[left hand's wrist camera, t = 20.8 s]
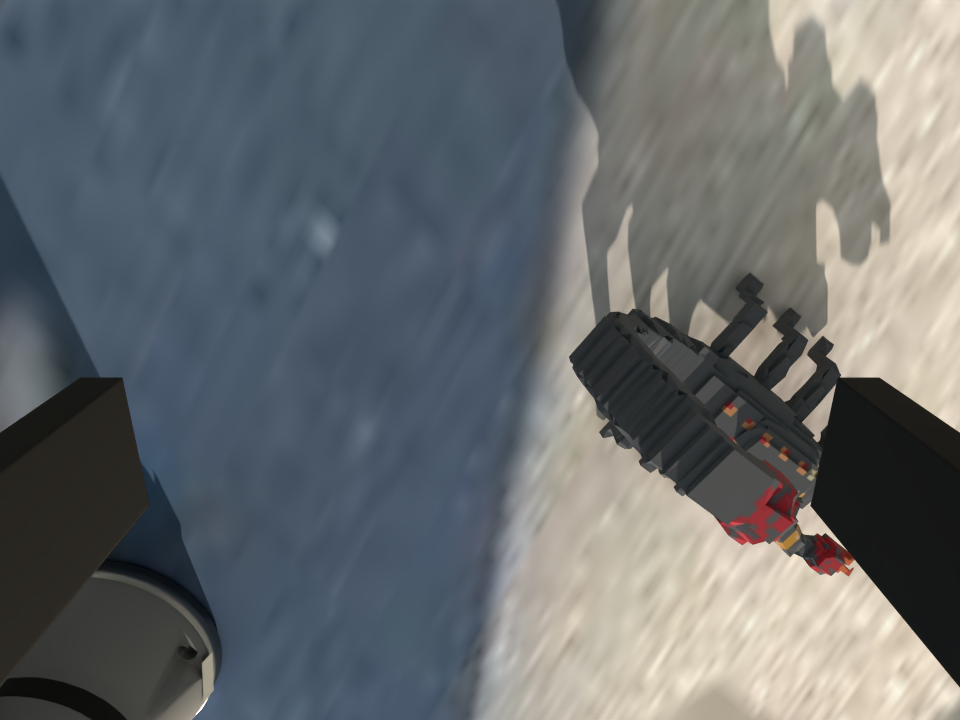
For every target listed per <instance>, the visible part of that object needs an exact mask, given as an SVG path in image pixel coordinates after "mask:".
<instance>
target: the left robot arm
mask: <svg viewBox="0 0 960 720" xmlns="http://www.w3.org/2000/svg"><path fill="white" fill-rule="evenodd" d="M148 507H149V501H148V497H147V492H146V487H145V482H144V478H143V473H142V468H141V464H140V459H139V454H138V449H137V445H136V440H135V435H134V430H133V426H132V421H131V416H130V411H129V407H128V402H127V397H126V393H125V388H124V383H123V378H79V379H78V380H76V381H75V382H74V383H72V384H71V385H69V386H68V387H66V388H65V389H63V390H62V391H60V392H59V393H57V394H56V395H55V396H53V397H52V398H50V399H49V400H47V401H46V402H44V403H43V404H41V405H40V406H39V407H37V408H36V409H34V410H33V411H31V412H30V413H28V414H27V415H25V416H24V417H22V418H21V419H20V420H18V421H17V422H15V423H14V424H12V425H11V426H9V427H8V428H6V429H5V430H4V431H2V432H1V433H0V720H192V719H193V718H194V717H195V715H196V714H197V713H198V712H199V711H200V710H201V709H202V707H203V706H204V704H205V703H206V701H207V699H208V697H209V695H210V694H211V693H212V692H213V691H214V684H215V682H216V680H217V677H218V675H219V672H220V668H221V663H222V649H221V643H220V638H219V635H218V632H217V630H216V628H215V626H214V623H213V622H212V620H211V618H210V617H209V615H208V614H207V612H206V611H205V610H204V608H203V607H202V606H201V605H200V604H199V603H198V602H197V601H196V600H195V599H194V598H193V597H192V596H191V595H190V594H189V593H188V592H186V591H185V590H184V589H183V588H181V587H180V586H178V585H177V584H175V583H174V582H172V581H170V580H169V579H167V578H165V577H163V576H161V575H159V574H157V573H155V572H152V571H150V570H147V569H145V568H142V567H138V566H135V565H131V564H127V563H122V562H115V561H105V559H106V558H107V557H108V556H109V554H110V553H111V552H112V551H113V550H114V548H115V547H116V546H117V545H118V543H119V542H120V541H121V540H122V539H123V537H124V536H125V535H126V534H127V532H128V531H129V530H130V529H131V528H132V526H133V525H134V524H135V523H136V522H137V520H138V519H139V518H140V517H141V515H142V514H143V513H144V512H145V511H146V509H147V508H148ZM811 507H812V508H813V509H814V511H815V512H816V513H817V514H818V515H819V517H820V518H821V519H822V520H823V522H824V523H825V524H826V525H827V526H828V528H829V529H830V530H831V531H832V532H833V534H834V535H835V536H836V537H837V539H838V540H839V541H840V542H841V543H842V545H843V546H844V547H845V548H846V550H847V551H848V552H849V553H850V554H851V556H852V557H853V558H854V559H855V560H856V562H857V563H858V564H859V565H860V567H861V568H862V569H863V570H864V571H865V573H866V574H867V575H868V576H869V577H870V579H871V580H872V581H873V582H874V584H875V585H876V586H877V587H878V588H879V590H880V591H881V592H882V593H883V595H884V596H885V597H886V598H887V599H888V601H889V602H890V603H891V604H892V605H893V607H894V608H895V609H896V610H897V612H898V613H899V614H900V615H901V616H902V618H903V619H904V620H905V621H906V622H907V624H908V625H909V626H910V627H911V629H912V630H913V631H914V632H915V633H916V635H917V636H918V637H919V638H920V640H921V641H922V642H923V643H924V644H925V646H926V647H927V648H928V649H929V650H930V652H931V653H932V654H933V655H934V657H935V658H936V659H937V660H938V661H939V663H940V664H941V665H942V666H943V668H944V669H945V670H946V671H947V672H948V674H949V675H950V676H951V677H952V678H953V680H954V681H955V682H956V683H957V685H958V686H959V687H960V433H959V432H958V431H956V430H955V429H954V428H952V427H951V426H949V425H948V424H946V423H945V422H943V421H942V420H940V419H939V418H938V417H936V416H935V415H933V414H932V413H930V412H929V411H927V410H926V409H924V408H923V407H921V406H920V405H919V404H917V403H916V402H914V401H913V400H911V399H910V398H908V397H907V396H905V395H904V394H903V393H901V392H900V391H898V390H897V389H895V388H894V387H892V386H891V385H889V384H888V383H886V382H885V381H884V380H882V379H881V378H837V383H836V388H835V393H834V397H833V402H832V407H831V411H830V416H829V421H828V426H827V430H826V435H825V440H824V445H823V449H822V454H821V459H820V464H819V468H818V473H817V478H816V482H815V487H814V492H813V497H812V501H811Z"/></svg>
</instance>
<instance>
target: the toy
mask: <svg viewBox="0 0 960 720" xmlns="http://www.w3.org/2000/svg"><path fill="white" fill-rule="evenodd" d="M763 285H764V284H763V283H762V282H760V281H759V280H758V279H757V278H755V277H754V276H753V275H752V274H751V273H749V274H748V275H747V277H746V278H745V279H744V280H743V281H742V282H741V283H740V284H739V285H738V286H737V287H736V289H738V290H739V291H740V292H741V294H740V296H739V298H741V299H742V300H744V301H745V302H746V304H745V305H744V307H743V308H742V309H741V310H740V311H739V313H738V314H737V315H736V316H735V317H734V319H733V321H732V322H731V323H730V324H729V325H728V326H727V327H726V328H725V329H724V330H723V331H722V333H721V334H720V335H719V336H718V337H717V338H716V339H715V340H714V341H713V342H712V344H711V346H710V347H709V346H707V345H706V344H705V343H703V342H701V341H699V340H696V339H694V338H691V337H689V336H687V335H685V334H683V333H682V332H680V331H679V330H678V329H676V328H675V327H674V326H672V325H671V324H669V323H667V322H665V321H663V320H661V319H659V318H657V317H654V318H650V317H649V316H647V315H646V314H645V313H644V312H642V311H641V310H636V309H632V310H631V311H630V313H629V314H628V315H627V314H624V313H621V312H610V313H609V314H608V315H607V316H605V317H604V318H603V319H602V320H601V321H600V322H599V324H598V325H597V326H596V327H595V328H594V329H593V330H592V331H591V333H590V334H589V335H588V336H587V337H586V338H585V339H584V340H583V342H582V343H581V344H580V345H579V346H578V347H577V348H576V349H575V351H574V352H573V353H572V354H571V355H570V356H569V358H570V361H571V362H572V363H573V367H572V368H573V370H574V371H575V373H576V375H577V377H578V378H579V380H580V381H581V382H582V384H583V385H584V386H585V387H586V389H587V390H588V391H589V393H590V394H591V395H592V396H593V398H594V399H595V402H596V404H597V407H598V409H599V411H600V412H601V413H602V414H603V415H604V416H605V417H607V418H608V419H609V420H610V421H609V422H608V423H607V424H606V426H605V427H604V428H603V429H602V430H601V431H600V432H599V433H600V434H601V436H602V437H603V438H606V437H611V436H614V438H615V441H616V443H617V445H619V446H621V447H622V448H624V449H631V448H632V447H634V448H635V449H636V450H637V451H638V452H639V453H640V454H641V456H642V458H641V459H640V460H639V463H640V465H641V466H642V467H643V468H645V469H646V470H647V471H649V472H650V473H651V472H653V471H654V470H656V469H657V468H658V469H659V473H660V474H661V475H662V476H663V477H664V478H666V477H668V478H670V479H672V480H673V481H674V482H675V483H676V485H675V486H674V488H675V490H676V492H677V493H679V494H680V495H681V496H684V495H685V494H686V495H687V496H688V497H689V498H691V499H692V500H693V501H695V502H696V503H697V504H699V505H700V506H702V507H703V508H704V509H706V510H707V511H708V512H710V513H711V514H712V515H714V517H715V518H716V519H717V521H718V522H719V523H720V525H721V526H722V527H723V529H724V530H725V531H726V533H727V534H728V535H729V536H730V537H731V538H733V539H734V540H736V541H737V542H738V543H740V544H741V545H743V544H745V543H746V542H749V543H751V544H752V545H753V544H757V543H761V542H764V541H766V542H767V543H768V544H770V543H771V542H772V541H774V542H776V544H777V545H778V546H779V547H780V548H781V549H782V550H783V551H784V552H785V553H786V554H787V555H788V556H790V557H791V556H792V555H793V554H796V555H798V556H801V557H803V558H804V560H805V561H806V562H807V564H808V565H809V566H810V567H811V568H812V569H813V570H815V571H816V572H817V573H819V574H820V575H822V574H825V573H826V574H828V575H830V576H832V575H833V574H834V573H835V572H838V573H839V571H842V572H843V573H845V574H846V575H847V576H849V575H850V574H851V572H852V570H853V568H852V569H851V570H849V569H848V568H847V567H846V566H845V565H850V564H851V563H852V562H853V561H854V560H855V559H854V558H853V557H852V556H851V554H850V553H849V552H848V551H847V550H845V549H844V548H843V547H842V546H840V545H839V544H838V543H836V542H835V541H834V540H833V539H832V538H830V537H829V536H828V535H827V534H826V533H825V534H824V535H823V536H820V535H819V534H818V533H817V534H816V535H815V536H812V535H804V534H802V532H801V530H800V527H799V525H798V524H797V522H798V520H797V519H796V515H797V513H798V510H799V508H801V509H803V508H804V507H805V506H806V505H807V504H809V503H810V502H811V501H812V497H813V492H814V487H815V482H816V478H817V473H818V468H819V464H820V459H821V454H822V449H823V445H824V440H825V435H826V430H827V426H828V425H827V426H826V427H825V428H824V430H823V431H822V432H821V438H820V441H819V442H818V443H817V442H816V441H815V440H814V439H813V437H814V436H815V435H814V434H813V433H812V432H811V431H810V430H809V429H808V428H807V427H806V426H805V425H804V424H803V423H802V421H803V420H804V419H805V418H806V417H807V416H808V415H809V414H810V413H811V412H812V411H813V410H814V409H815V408H816V407H817V406H818V404H819V403H820V402H821V401H822V400H823V399H824V397H825V396H826V395H827V394H828V393H829V391H830V390H831V389H832V388H833V387H834V386H835V384H836V383H837V378H840V376H841V374H840V373H839V370H838V368H837V365H836V363H834V362H833V361H831V360H830V359H829V358H827V357H826V355H827V354H828V353H829V352H830V351H831V350H832V348H833V346H834V344H833V343H831V342H830V341H828V340H827V339H826V338H825V337H824V336H822V337H821V338H820V339H819V340H818V342H817V343H816V344H815V345H814V346H813V347H812V348H811V349H810V350H809V352H808V354H807V355H808V356H809V357H810V358H811V359H812V360H813V361H814V362H815V363H816V364H817V369H816V372H815V373H814V374H813V375H812V376H811V377H810V379H809V380H808V381H807V382H806V383H805V384H804V385H803V386H802V387H801V388H800V389H799V390H798V391H797V392H796V393H795V394H794V395H793V396H792V398H791V399H790V400H788V401H786V402H784V401H783V400H782V399H781V398H780V397H778V396H777V395H776V394H775V393H773V392H772V391H771V389H772V388H773V387H774V386H775V385H776V384H777V383H779V382H780V381H781V380H782V379H783V378H784V377H785V376H786V374H787V372H788V370H789V368H790V366H791V365H792V364H793V363H794V362H795V361H796V360H797V359H798V358H799V357H800V356H801V355H802V353H803V351H804V349H805V347H806V344H807V342H808V339H806V338H805V337H804V336H803V335H802V334H800V333H799V332H798V331H796V330H795V329H793V327H794V326H795V325H796V323H797V322H798V321H799V319H800V318H801V316H800V315H799V314H797V313H796V312H795V311H794V310H792V309H791V308H790V309H789V310H788V311H787V312H786V313H785V314H784V315H783V316H782V317H781V318H780V319H779V320H778V321H777V322H776V323H775V324H774V325H773V327H775V328H776V329H777V330H778V331H779V332H781V333H782V334H783V335H784V336H783V337H782V338H781V339H782V340H783V341H782V342H781V343H780V344H779V345H778V346H777V347H776V348H775V349H774V350H773V351H772V353H771V354H770V355H769V356H768V357H767V358H766V359H765V361H764V362H763V363H762V364H761V365H760V366H759V368H758V370H757V372H756V374H755V376H753V375H751V374H750V373H749V372H748V371H746V370H745V369H744V368H743V367H741V366H740V365H739V364H738V363H736V362H735V361H734V360H733V359H732V358H730V357H729V355H730V354H731V353H732V352H733V351H734V350H735V349H736V347H737V346H738V345H739V344H740V343H741V342H742V341H743V340H744V339H745V338H746V336H747V335H748V334H749V333H750V332H751V331H752V330H753V329H754V328H755V326H756V325H757V324H758V323H759V322H760V321H761V319H762V318H763V317H764V316H765V315H766V314H767V311H766V310H764V309H763V308H762V307H761V306H760V305H762V304H763V303H764V302H763V301H762V300H760V299H759V298H758V297H756V295H757V294H758V292H759V291H760V290H761V288H762V287H763ZM844 564H845V565H844Z"/></svg>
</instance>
